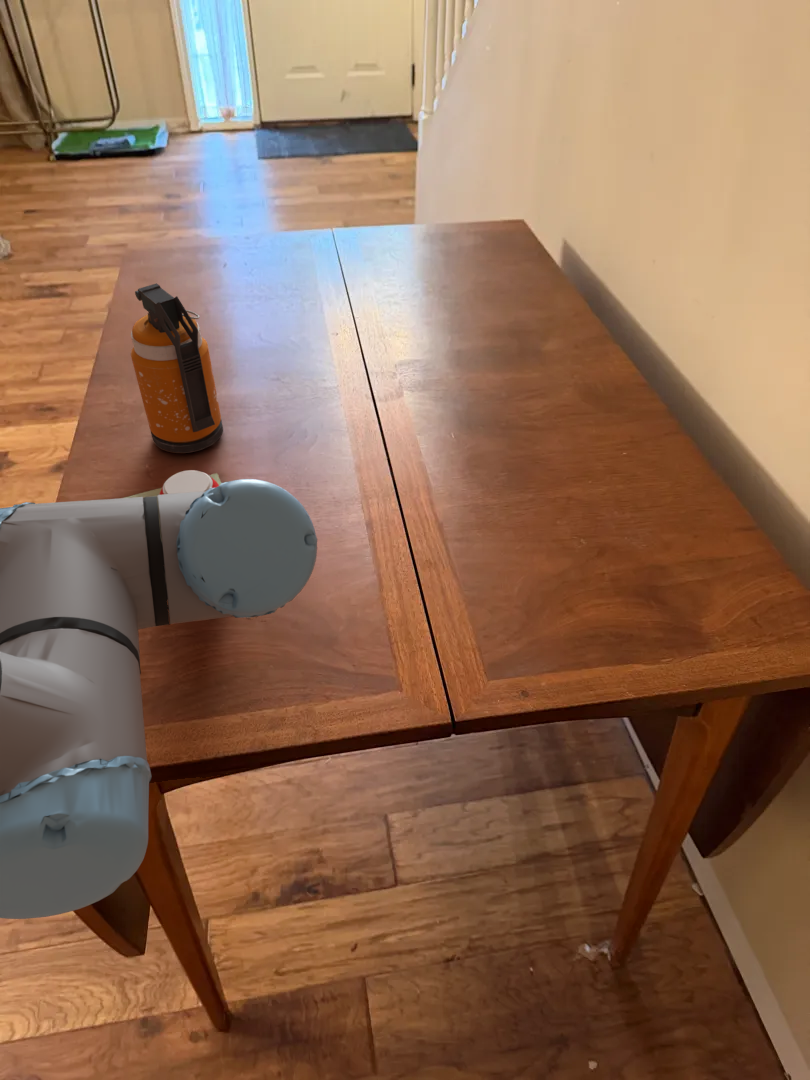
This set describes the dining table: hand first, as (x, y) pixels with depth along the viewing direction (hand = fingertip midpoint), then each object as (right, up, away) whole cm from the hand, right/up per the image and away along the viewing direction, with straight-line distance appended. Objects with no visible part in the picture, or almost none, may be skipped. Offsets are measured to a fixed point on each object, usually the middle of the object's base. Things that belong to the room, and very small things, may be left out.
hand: (211, 573), depth 78 cm
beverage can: (-2, 0, +5) cm, 5 cm away
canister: (-8, +16, +22) cm, 29 cm away
